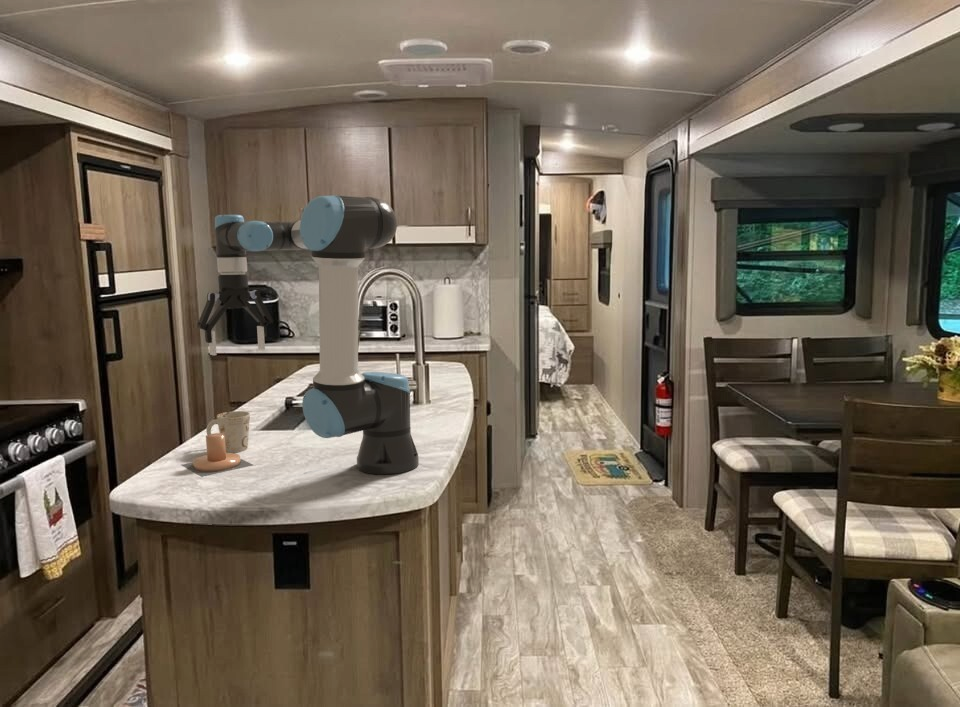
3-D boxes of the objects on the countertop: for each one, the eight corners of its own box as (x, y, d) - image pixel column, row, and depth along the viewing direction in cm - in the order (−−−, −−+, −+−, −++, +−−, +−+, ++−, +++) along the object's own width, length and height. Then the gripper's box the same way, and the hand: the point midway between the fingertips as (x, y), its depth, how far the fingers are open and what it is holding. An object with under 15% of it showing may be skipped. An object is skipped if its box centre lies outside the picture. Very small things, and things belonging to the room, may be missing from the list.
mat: (253, 466, 184) (253, 464, 184) (201, 478, 175) (201, 476, 175) (231, 456, 194) (231, 454, 194) (181, 466, 185) (181, 464, 185)
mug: (242, 456, 193) (239, 418, 192) (198, 454, 196) (195, 417, 194) (257, 447, 201) (255, 411, 200) (215, 445, 204) (213, 410, 202)
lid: (248, 464, 184) (246, 435, 183) (204, 474, 177) (201, 444, 176) (229, 455, 192) (227, 427, 191) (186, 464, 185) (184, 435, 184)
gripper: (270, 271, 210) (274, 346, 213) (180, 275, 194) (186, 355, 197) (282, 272, 204) (286, 348, 207) (190, 275, 188) (196, 358, 191)
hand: (237, 352), depth 202 cm, fingers open, 13 cm apart
